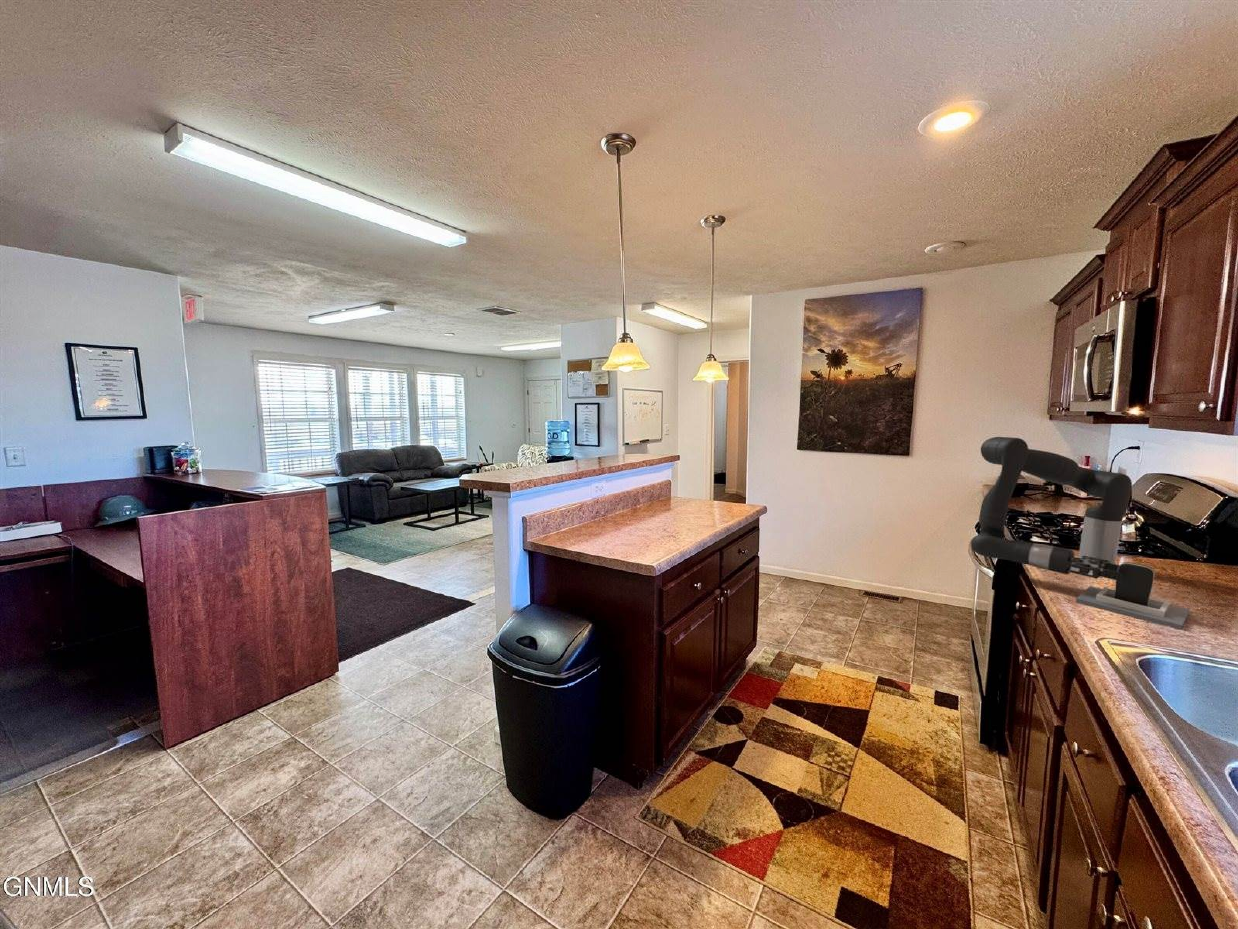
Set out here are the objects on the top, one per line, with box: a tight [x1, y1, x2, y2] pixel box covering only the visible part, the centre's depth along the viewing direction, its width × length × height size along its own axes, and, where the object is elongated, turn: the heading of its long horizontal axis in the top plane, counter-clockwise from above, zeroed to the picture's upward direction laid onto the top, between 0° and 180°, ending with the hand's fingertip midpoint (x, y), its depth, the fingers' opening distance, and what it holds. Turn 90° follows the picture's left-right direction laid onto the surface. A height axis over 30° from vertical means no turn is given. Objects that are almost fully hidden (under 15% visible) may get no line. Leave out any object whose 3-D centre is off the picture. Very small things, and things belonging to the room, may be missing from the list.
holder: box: [1075, 585, 1191, 630], centre depth 136 cm, size 16×20×3 cm
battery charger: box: [1114, 561, 1155, 607], centre depth 135 cm, size 7×4×11 cm, turn 37°
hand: (1126, 574), depth 137 cm, fingers open, 8 cm apart
